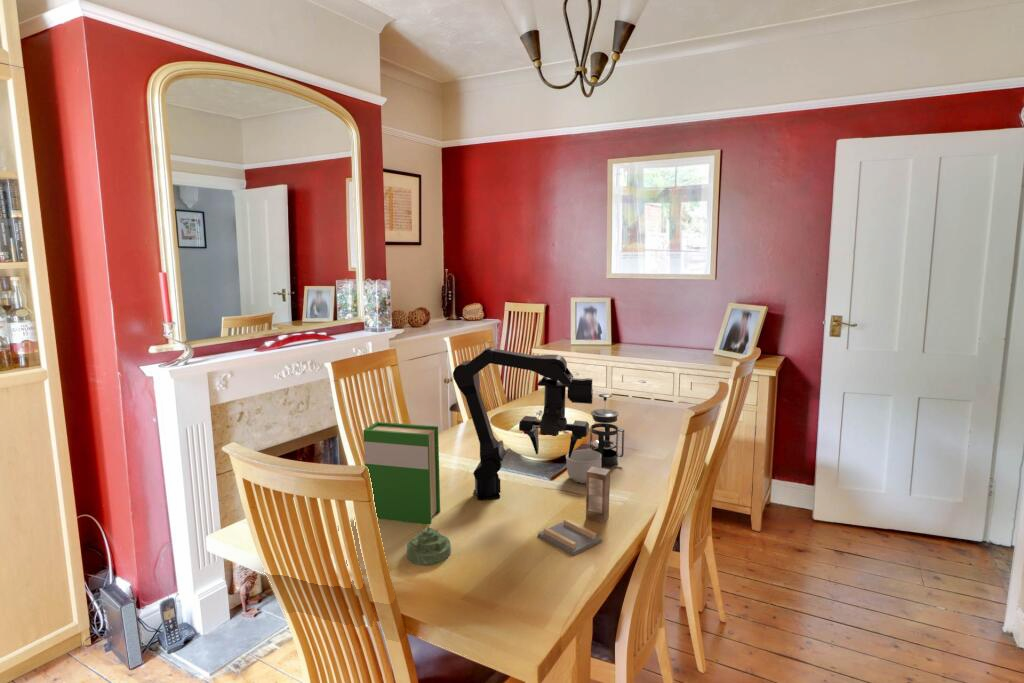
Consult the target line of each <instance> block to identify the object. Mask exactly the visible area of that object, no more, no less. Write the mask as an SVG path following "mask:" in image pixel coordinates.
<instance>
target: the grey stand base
mask: <svg viewBox="0 0 1024 683" xmlns="http://www.w3.org/2000/svg"><path fill="white" fill-rule="evenodd" d="M537 536H538V537H539V538H541V539H543V540H544V539H545V540H544V541H545V542H548V543H549V544H551V545H554V546H555V547H557V548H559V549H561V550H563V551H564V552H566V553H568V554H569V555H571V556H575V555H577V554H579V553H580V552H583V551H585V550H586V549H589V548H590V547H593V546H595V545H597V544H599V543H601V542H602V541H603V538H602V537H601V536H598V535H597V532H594V531H592V530H590V529H588V528H587V527H584V526H583V525H580V524H578V523H576V522H575V521H572V520H570V519H568V518H564V520H563V521H562V522H560V523H557V524H555V525H553V526H550V527H544V528H543V530H541V531H539V532H538V533H537Z"/></svg>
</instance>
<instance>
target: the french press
mask: <svg viewBox="0 0 1024 683" xmlns="http://www.w3.org/2000/svg"><path fill="white" fill-rule="evenodd" d="M598 397H599V398H603V401H604V408H600V409H599V408H598V409H593V410H591V411H590V414H591V416H592V419H593V421H594V422H596V423H594V424H592V425H591V426H590V438H589V448H591V449H592V450H593V451H597V452H599V453H600V454H601V455H602V457H601V466H602V467H601V468H603V467H608V468H614V467H616V466H618V464H619V460H618V457H620V458H622V457H624V452H625V451H624V450H625V429H623V428H619V427H618V426H617V425H616V424H613V423H615V422H617V421H618V416H619V415H620V413H619V412H618V411H616V410H613V409H606V403H607V398H611V397H612V394H611V393H610V394H609V393H599V394H598ZM596 428H603V431H601V430H597V429H596ZM611 429H613V430H611ZM619 432H620V433H622V435H621V453H619V451H618V449H619ZM593 434H594V435H596V436H597V438H598V439H596V440H593ZM615 435H616V437H615V438H616V439H615V441H613V440H610V439H611V437H610V436H615ZM615 465H616V466H615ZM613 466H614V467H613Z"/></svg>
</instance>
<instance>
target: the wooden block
mask: <svg viewBox="0 0 1024 683" xmlns="http://www.w3.org/2000/svg"><path fill="white" fill-rule="evenodd" d="M610 482H611V469H608V468H603V467H601V468H597V467H591V468H590V469H589V470H588V471H587V483H586V489H585V490H586V493H585V494H586V495H585V496H586V497H585V499H586V500H585V502H586V503H585V519H586V520H590V521H595V522H599V523H606V521H607V519H608V518H609V516H610V486H611V485H610Z"/></svg>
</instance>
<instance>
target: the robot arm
mask: <svg viewBox="0 0 1024 683" xmlns="http://www.w3.org/2000/svg"><path fill="white" fill-rule="evenodd" d="M490 364H491V365H498V366H502V367H503V366H504V367H510V368H514V369H521V370H526V371H531V372H532V373H533V372H534V373H536V374H538V375H540V376H542V378H541V379H539V380H538V382H537V386H539V387H540V386H541V387H544V400H543V401H544V403H543V404H544V405H543V412H542V416H541V420H538V417H537V416H529V415H524V416H523V417H522V418H521V419H520V421H519V422H518V431H520V432H523V434H524V435H527V436H528V437H529V438H530V440H531V443H532V447H533V448H534V452H535V455H539V450H540V449H539V447H540V446H539V429H540V434H541V435H542V436H552V437H557V436H558V435H559V433H560V432H566V431H568V432H571V435H570V441H569V442H570V443H569V449H568V450H569V451H568V453H569V458H570V457H571V455H572V452H573V451H574V449H575V446H576V443H577V441H578V440H582V439H583V438H586V437H587V436H588V434H589V432H590V423H589V422H588V421H585V420H574V421H573V423H568V421H567V417H566V416H565V415H566V391H567V399H568V400H569V401H570V402H571V403H572V404H586V405H592V404H593V398H594V397H593V394H594V389H593V378H590V377H589V378H574V374H572V372H571V371H570V370H569V368H568V362H567V360H566V358H564V356H562V355H560V354H541V355H540V354H539V355H534V354H528V353H522V352H515V351H511V350H504V349H498V348H495V347H491V346H488V347H487V348H485V349H484V350H483V351H482V352H481V353H480V354H478V355H476V356H475V357H474V358H472V359H471V360H464V361H462V362H460V363H459V364H458V365H457V366H456V367H455V368H454V370H453V371H452V379H453V380H454V382H455V384H456V386H457V389H459V391H460V392H461V393H462V395H463V396H464V398H465V401H466V404H467V407H468V411H469V414H470V416H471V420H472V423H473V425H474V429H475V432H476V436H477V439H478V442H479V459H480V461H479V463H478V464H477V466H476V468H475V469H474V471H473V474H472V475H473V477H474V489H473V493H474V495H475V497H476V499H477V500H478V501H483V500H491V499H499V498H501V494H500V493H501V479H500V477H499V473H498V472H499V471H500V470H501V469H502V467H503V465H504V462H505V461H506V455H507V451H506V450H505V447H504V446H505V445H504V441H503V439H502V440H499V441H498V440H497V439H496V437H495V435H494V432H493V429H492V426H491V423H490V420H489V416H488V413H487V410H486V406H485V404H484V403H485V402H484V400H483V397H482V393H481V391H480V390H481V389H480V388H481V387H480V386H481V383H480V379H481V378H480V372H481V371H482V370H483V369H484V368H486V367H487V366H488V365H490ZM566 388H567V390H566Z"/></svg>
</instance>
